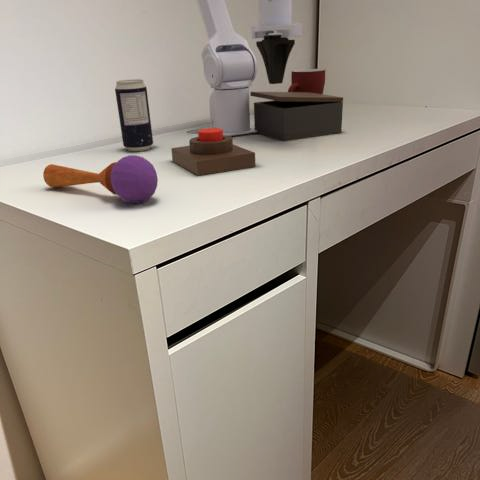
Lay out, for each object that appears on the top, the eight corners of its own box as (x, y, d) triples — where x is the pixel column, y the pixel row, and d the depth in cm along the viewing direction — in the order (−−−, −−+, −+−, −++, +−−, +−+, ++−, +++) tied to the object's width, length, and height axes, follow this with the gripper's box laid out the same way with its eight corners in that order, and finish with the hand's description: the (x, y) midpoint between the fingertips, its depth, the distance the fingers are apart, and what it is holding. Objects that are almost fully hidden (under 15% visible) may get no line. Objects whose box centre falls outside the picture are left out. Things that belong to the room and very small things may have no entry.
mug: (304, 120, 120) (305, 73, 115) (278, 117, 125) (277, 72, 120) (330, 113, 126) (332, 69, 121) (304, 111, 131) (304, 68, 126)
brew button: (195, 141, 84) (194, 129, 83) (217, 138, 85) (216, 127, 84) (204, 145, 81) (203, 133, 80) (227, 141, 82) (226, 130, 81)
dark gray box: (283, 140, 99) (283, 108, 96) (254, 131, 109) (253, 102, 106) (341, 132, 104) (343, 102, 101) (308, 124, 114) (309, 96, 111)
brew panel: (172, 161, 88) (169, 137, 86) (225, 153, 91) (223, 130, 89) (197, 175, 78) (195, 148, 76) (255, 166, 82) (254, 140, 80)
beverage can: (159, 146, 99) (151, 79, 93) (142, 152, 95) (133, 82, 89) (135, 145, 101) (126, 79, 95) (118, 151, 97) (107, 82, 91)
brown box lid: (280, 101, 95) (280, 96, 95) (250, 95, 105) (250, 91, 105) (343, 101, 101) (343, 97, 101) (309, 96, 111) (309, 92, 111)
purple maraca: (67, 154, 76) (166, 155, 66) (71, 195, 78) (168, 202, 68) (32, 154, 72) (132, 155, 61) (37, 198, 74) (135, 206, 63)
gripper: (318, -9, 81) (316, 83, 88) (274, -3, 93) (275, 79, 100) (280, -9, 79) (280, 87, 86) (240, -2, 90) (243, 82, 97)
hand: (275, 83), depth 92 cm, fingers closed
